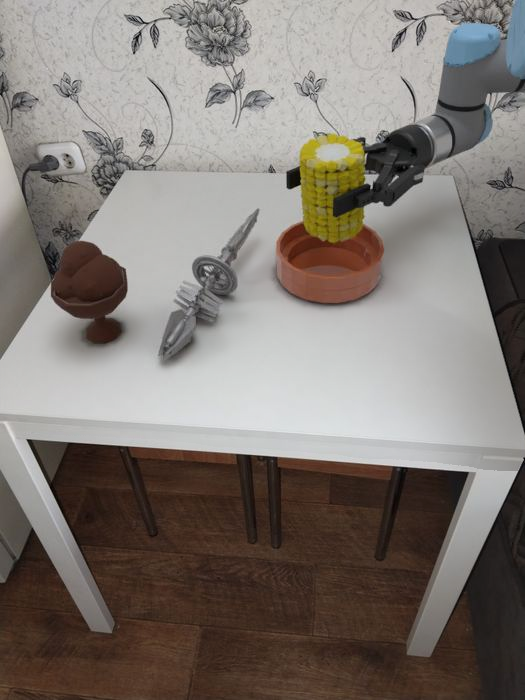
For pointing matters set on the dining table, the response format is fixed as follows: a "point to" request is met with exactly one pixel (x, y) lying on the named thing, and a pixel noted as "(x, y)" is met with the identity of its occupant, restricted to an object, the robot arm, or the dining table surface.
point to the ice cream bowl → (90, 288)
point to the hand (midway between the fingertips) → (310, 194)
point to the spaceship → (204, 291)
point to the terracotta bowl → (329, 264)
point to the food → (331, 185)
